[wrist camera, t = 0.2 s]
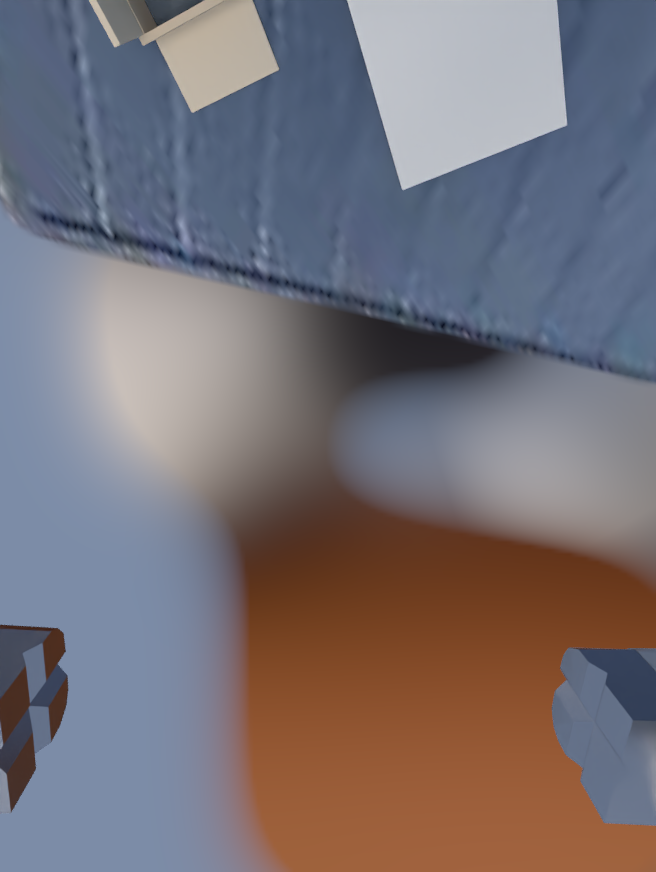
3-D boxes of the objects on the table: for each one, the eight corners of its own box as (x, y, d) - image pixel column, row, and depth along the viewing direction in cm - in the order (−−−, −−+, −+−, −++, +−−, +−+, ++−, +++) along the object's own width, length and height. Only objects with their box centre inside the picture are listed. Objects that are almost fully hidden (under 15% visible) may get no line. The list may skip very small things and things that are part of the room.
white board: (330, -59, 41) (329, -60, 41) (540, -176, 37) (542, -178, 36) (401, 188, 54) (402, 190, 53) (565, 123, 49) (567, 125, 49)
